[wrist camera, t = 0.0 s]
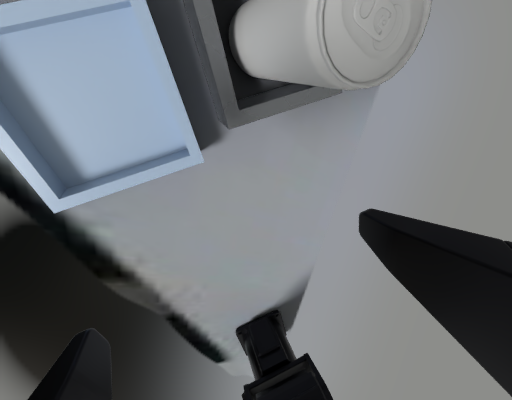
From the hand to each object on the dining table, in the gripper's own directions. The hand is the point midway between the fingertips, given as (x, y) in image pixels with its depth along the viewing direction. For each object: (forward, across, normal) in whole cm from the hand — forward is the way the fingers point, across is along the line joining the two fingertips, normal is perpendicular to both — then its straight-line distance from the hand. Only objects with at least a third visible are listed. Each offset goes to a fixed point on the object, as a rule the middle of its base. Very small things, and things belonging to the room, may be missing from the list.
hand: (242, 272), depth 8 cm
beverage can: (+15, -7, -6) cm, 18 cm away
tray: (+15, +5, -5) cm, 16 cm away
